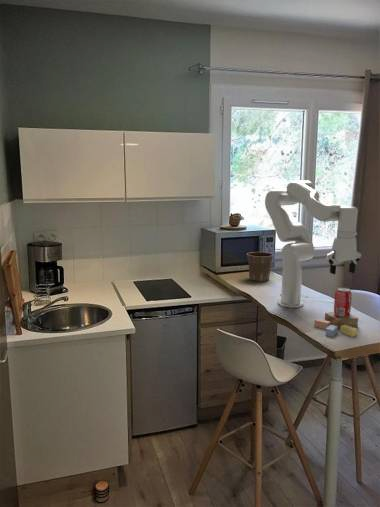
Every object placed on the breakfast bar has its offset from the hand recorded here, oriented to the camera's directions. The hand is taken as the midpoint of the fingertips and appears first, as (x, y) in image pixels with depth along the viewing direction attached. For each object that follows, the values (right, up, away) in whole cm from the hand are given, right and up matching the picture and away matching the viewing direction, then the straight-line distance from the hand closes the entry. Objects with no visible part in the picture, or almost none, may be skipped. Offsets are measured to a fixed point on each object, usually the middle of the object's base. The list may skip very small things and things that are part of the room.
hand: (342, 273), depth 197 cm
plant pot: (-25, -8, +80) cm, 84 cm away
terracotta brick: (-9, -24, -2) cm, 26 cm away
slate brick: (-8, -25, -10) cm, 28 cm away
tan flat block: (0, -23, +2) cm, 23 cm away
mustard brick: (-1, -25, -9) cm, 27 cm away
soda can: (0, -19, +1) cm, 19 cm away
